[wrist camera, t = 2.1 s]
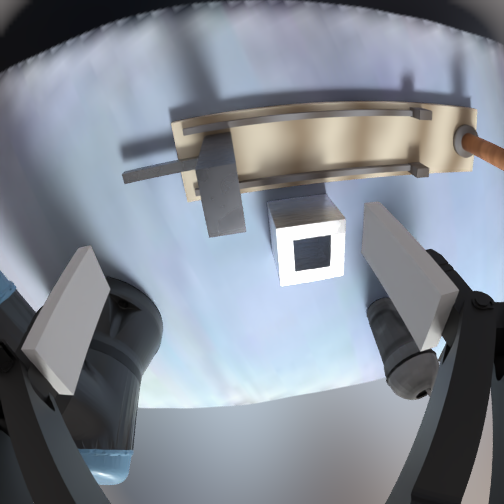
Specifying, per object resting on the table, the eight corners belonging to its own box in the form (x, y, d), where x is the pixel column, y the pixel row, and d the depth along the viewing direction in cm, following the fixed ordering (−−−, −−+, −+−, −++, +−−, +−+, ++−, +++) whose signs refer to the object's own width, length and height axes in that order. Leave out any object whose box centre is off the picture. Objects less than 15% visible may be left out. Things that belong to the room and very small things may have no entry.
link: (272, 252, 36) (281, 286, 30) (266, 201, 32) (276, 228, 27) (326, 244, 36) (343, 275, 31) (326, 193, 32) (345, 218, 27)
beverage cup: (353, 303, 41) (409, 428, 24) (399, 282, 40) (469, 396, 23) (361, 333, 45) (408, 445, 28) (403, 314, 44) (459, 419, 27)
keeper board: (188, 197, 31) (178, 244, 23) (172, 121, 27) (152, 141, 19) (466, 168, 31) (514, 198, 24) (470, 107, 27) (525, 127, 19)
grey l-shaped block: (131, 197, 29) (97, 256, 20) (119, 154, 26) (74, 197, 17) (237, 178, 29) (246, 231, 20) (230, 131, 26) (236, 163, 18)
